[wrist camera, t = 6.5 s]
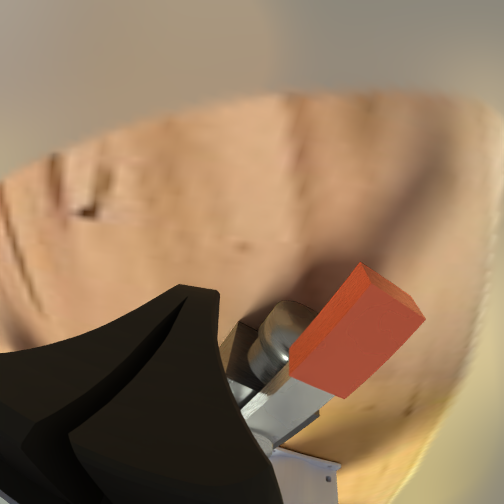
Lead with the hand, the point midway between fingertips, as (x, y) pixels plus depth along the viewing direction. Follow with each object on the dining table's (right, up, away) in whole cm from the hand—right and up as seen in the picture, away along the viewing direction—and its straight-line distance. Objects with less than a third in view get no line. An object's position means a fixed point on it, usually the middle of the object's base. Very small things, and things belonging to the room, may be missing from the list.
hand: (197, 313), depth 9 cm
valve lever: (+4, -4, +4) cm, 7 cm away
